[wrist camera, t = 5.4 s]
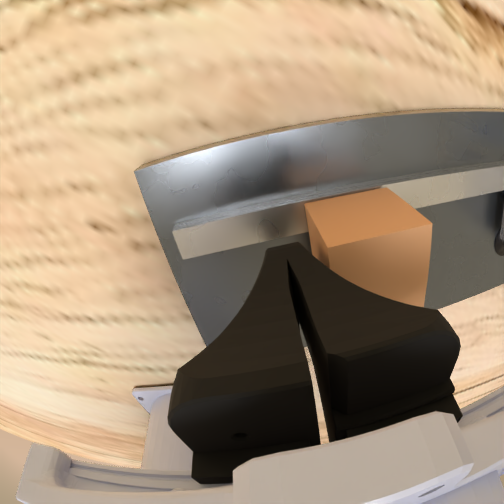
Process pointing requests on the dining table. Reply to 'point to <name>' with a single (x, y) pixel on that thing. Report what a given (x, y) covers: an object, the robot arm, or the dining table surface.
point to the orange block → (373, 243)
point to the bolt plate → (325, 187)
